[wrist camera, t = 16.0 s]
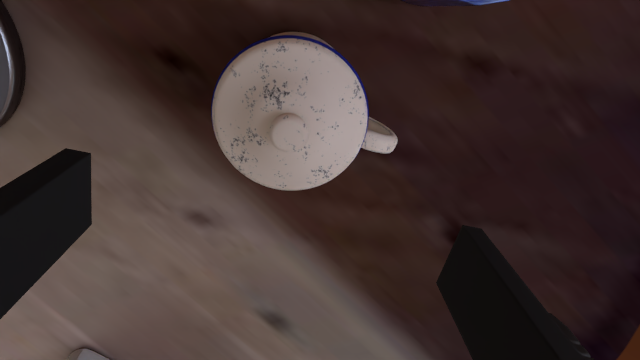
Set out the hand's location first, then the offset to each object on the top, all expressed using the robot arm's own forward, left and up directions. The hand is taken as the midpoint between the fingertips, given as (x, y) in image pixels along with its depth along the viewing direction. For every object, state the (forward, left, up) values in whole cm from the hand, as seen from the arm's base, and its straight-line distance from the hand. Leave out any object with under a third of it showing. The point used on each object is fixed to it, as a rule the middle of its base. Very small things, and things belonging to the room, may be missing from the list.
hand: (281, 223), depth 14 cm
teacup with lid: (+1, +1, -19) cm, 19 cm away
